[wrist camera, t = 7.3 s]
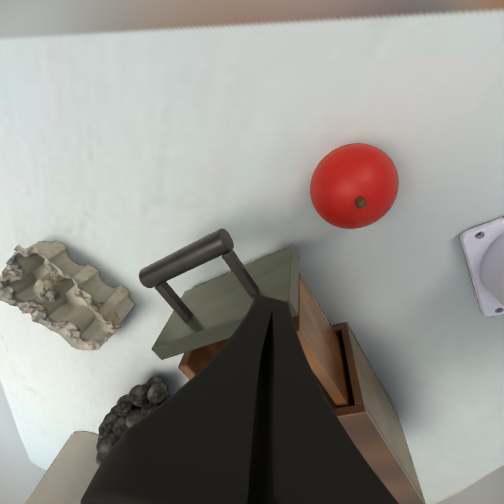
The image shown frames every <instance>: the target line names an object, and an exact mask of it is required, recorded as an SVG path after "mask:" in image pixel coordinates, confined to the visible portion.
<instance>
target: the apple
mask: <svg viewBox="0 0 504 504" xmlns="http://www.w3.org/2000/svg"><path fill="white" fill-rule="evenodd" d="M398 185H399V180H398V174H397V170H396V167H395V165H394V163H393V162H392V160H391V159H390V158H389V157H388V156H387V154H385V153H384V152H383V151H382V150H380V149H378V148H376V147H374V146H371V145H367V144H359V143H358V144H349V145H345V146H342V147H339V148H337V149H335V150H333V151H332V152H330V153H329V154H328V155H326V156H325V157H324V158H323V159H322V160H321V162H320V163H319V164H318V166H317V167H316V169H315V171H314V173H313V176H312V179H311V185H310V194H311V199H312V203H313V205H314V208H315V209H316V211H317V212H318V214H319V215H320V216H321V217H322V218H323V219H324V220H325V221H327V222H328V223H330V224H332V225H334V226H337V227H341V228H347V229H355V228H361V227H365V226H368V225H370V224H372V223H374V222H376V221H377V220H379V219H380V218H381V217H383V216H384V215H385V214H386V213H387V212H388V210H389V209H390V208H391V206H392V205H393V203H394V201H395V199H396V196H397V192H398Z"/></svg>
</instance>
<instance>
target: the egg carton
mask: <svg viewBox="0 0 504 504" xmlns="http://www.w3.org/2000/svg"><path fill="white" fill-rule="evenodd" d="M14 250H16V252H15V254H14V255H13V256H12V257H11V258H10V259H9V260H8V262H7V263H6V264H7V266H6V268H5V269H4V270H3V271H2V274H1V276H0V300H1V301H4V302H6V303H9V305H13V306H18V307H19V309H20V310H22V313H30V314H31V315H32V321H33V322H37V323H41V324H43V325H44V326H46V327H47V328H49V329H50V330H51V331H54V332H56V333H58V334H60V335H61V336H62V337H63V338H64V339H65V340H66V341H67V342H68V343H69V344H70V345H71V346H72V347H74V348H76V349H79V350H97V349H99V348H100V347H101V346H102V345H103V344H104V343H105V342H106V341H107V339H109V338H110V337H111V336H112V335H113V334H115V333H116V332H117V331H118V330H119V329H120V328H121V327H119V325H120V324H121V322H122V321H123V319H124V318H125V317H126V315H127V314H128V313H129V312H130V310H131V309H132V308H133V307H134V306H135V305H134V304H133V303H132V302H131V301H130V298H129V292H128V291H127V290H126V289H125V288H124V287H122V286H119V287H114V288H113V287H110V286H108V285H106V284H105V283H103V282H102V280H101V278H100V276H99V271H98V269H95V268H94V267H92V266H91V265H89V264H86V265H78V264H76V263H74V262H73V261H72V260H71V259H70V258H69V257H68V255H67V247H65V246H64V245H63V244H62V243H60V242H58V241H55V242H53V243H46V242H42V241H38V242H37V243H36V244H34V245H32V246H31V247H29V248H27V249H24V248H22V247H21V246H20V245H18V246H17V247H16V248H15V249H14Z"/></svg>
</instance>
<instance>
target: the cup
mask: <svg viewBox="0 0 504 504" xmlns="http://www.w3.org/2000/svg"><path fill="white" fill-rule="evenodd" d="M98 436H99V435H97V434H95V433H91V432H85V431H79V432H74V433H73V434H72V435H71V436H70V438H69V439H68V441H67V442H66V443H65V445H64V446H63V448H62V449H61V451H60V452H59V454H58V455H57V457H56V458H55V460H54V461H53V463H52V464H51V466H50V467H49V469H48V470H47V472H46V473H45V475H44V476H43V478H42V479H41V481H40V482H39V484H38V485H37V487H36V488H35V490H34V491H33V493H32V494H31V496H30V497H29V499H28V500H27V501H26V503H25V504H81V499H82V497H83V495H84V493H85V491H86V489H87V488H88V486H89V484H90V482H91V480H92V478H93V476H94V475H95V473H96V471H97V469H98V468H99V465H98V464H97V463H96V455H97V453H98V452H97V449H96V445H97V443H98Z"/></svg>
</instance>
